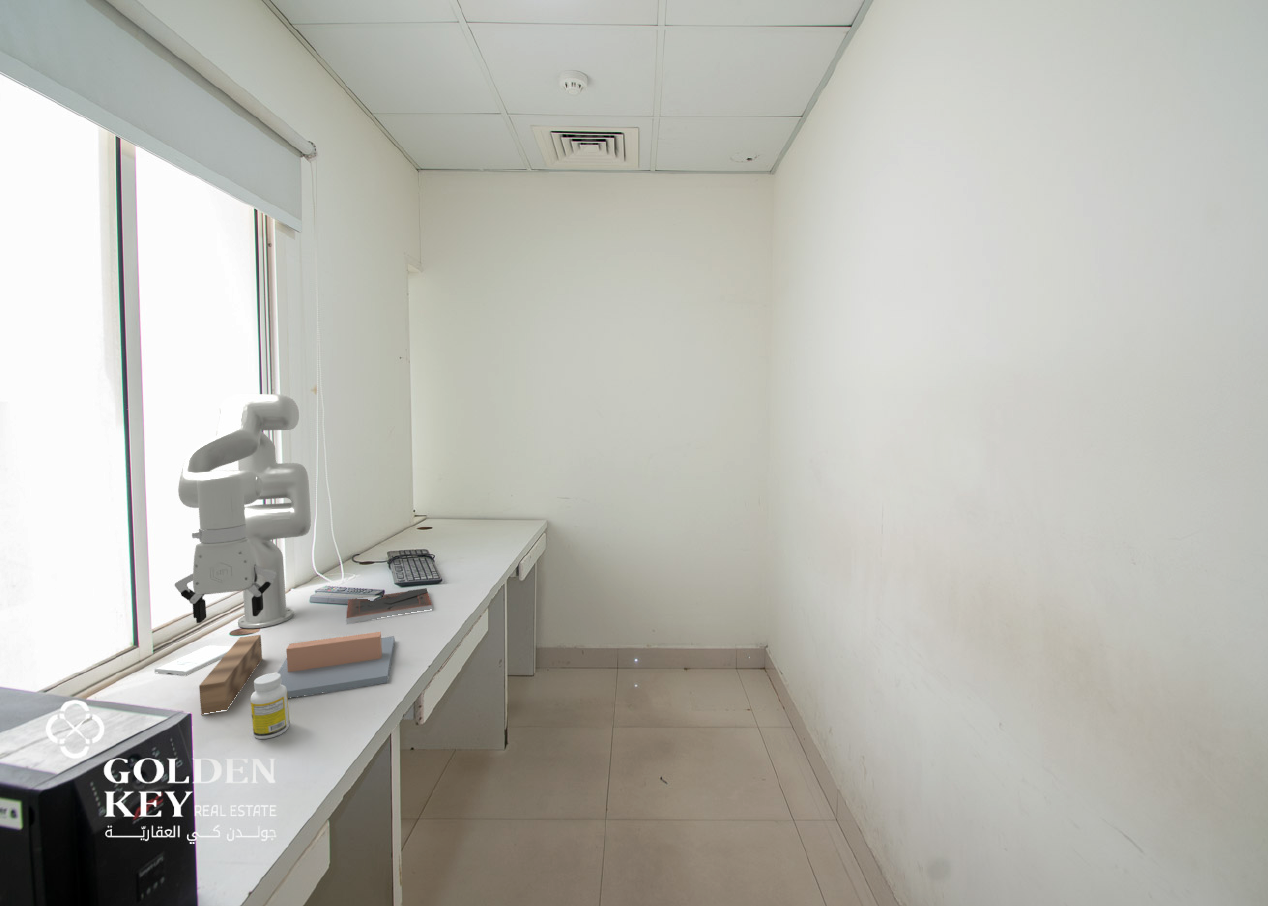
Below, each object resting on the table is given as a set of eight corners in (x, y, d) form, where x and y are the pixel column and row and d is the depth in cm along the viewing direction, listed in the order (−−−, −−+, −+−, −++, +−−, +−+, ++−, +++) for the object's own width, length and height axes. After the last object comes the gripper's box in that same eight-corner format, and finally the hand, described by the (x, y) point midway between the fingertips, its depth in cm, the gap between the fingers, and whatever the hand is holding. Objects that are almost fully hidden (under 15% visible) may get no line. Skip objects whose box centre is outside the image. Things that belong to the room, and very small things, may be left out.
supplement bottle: (264, 723, 102) (260, 671, 101) (295, 722, 103) (292, 669, 102) (246, 741, 97) (242, 686, 96) (279, 739, 97) (275, 684, 96)
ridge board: (291, 656, 130) (289, 629, 130) (394, 642, 138) (393, 616, 137) (264, 702, 110) (262, 670, 109) (387, 682, 117) (386, 652, 116)
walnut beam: (241, 663, 128) (239, 637, 127) (262, 660, 129) (260, 634, 129) (201, 716, 105) (199, 685, 105) (226, 712, 107) (224, 681, 106)
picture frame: (426, 595, 174) (348, 607, 165) (426, 587, 174) (348, 598, 165) (432, 613, 159) (346, 626, 150) (432, 604, 159) (346, 617, 150)
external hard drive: (236, 654, 134) (185, 678, 122) (207, 651, 135) (154, 675, 123) (236, 647, 134) (185, 670, 122) (207, 645, 135) (154, 668, 123)
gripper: (163, 542, 108) (170, 630, 109) (268, 534, 114) (273, 617, 115) (180, 535, 115) (186, 617, 117) (277, 528, 121) (282, 606, 122)
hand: (229, 617), depth 116 cm, fingers open, 9 cm apart
